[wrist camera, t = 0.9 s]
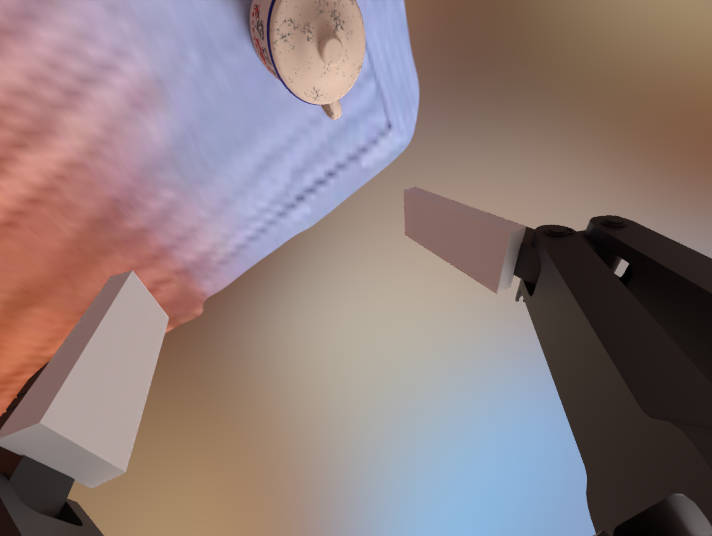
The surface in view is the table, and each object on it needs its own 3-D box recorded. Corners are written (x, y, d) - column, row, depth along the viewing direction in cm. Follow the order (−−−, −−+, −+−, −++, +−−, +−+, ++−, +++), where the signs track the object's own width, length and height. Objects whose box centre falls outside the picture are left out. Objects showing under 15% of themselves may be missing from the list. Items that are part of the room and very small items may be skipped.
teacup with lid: (225, -2, 24) (251, 4, 17) (307, -50, 24) (366, -64, 17) (289, 123, 33) (323, 159, 26) (347, 87, 34) (395, 114, 27)
